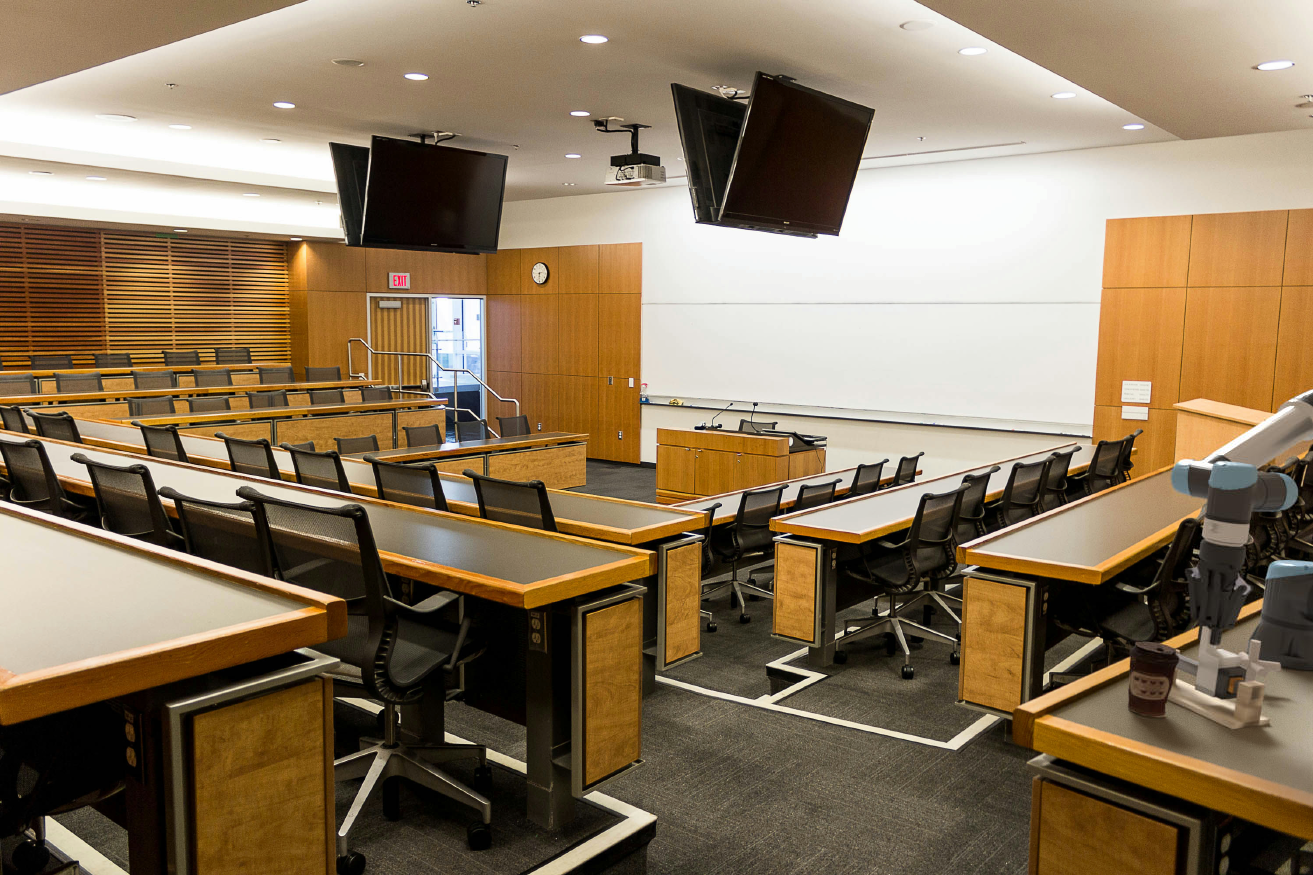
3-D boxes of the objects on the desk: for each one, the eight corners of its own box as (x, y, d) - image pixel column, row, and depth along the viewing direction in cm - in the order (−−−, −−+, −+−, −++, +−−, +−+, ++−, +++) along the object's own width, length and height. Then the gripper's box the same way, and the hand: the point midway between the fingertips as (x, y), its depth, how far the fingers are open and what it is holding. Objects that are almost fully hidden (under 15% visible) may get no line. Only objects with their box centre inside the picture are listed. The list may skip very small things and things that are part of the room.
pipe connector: (1286, 699, 188) (1293, 652, 187) (1232, 692, 190) (1239, 645, 189) (1264, 681, 198) (1271, 636, 197) (1213, 674, 200) (1220, 630, 199)
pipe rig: (1176, 683, 193) (1181, 646, 192) (1269, 723, 175) (1275, 683, 174) (1141, 687, 190) (1146, 649, 189) (1232, 728, 171) (1238, 687, 170)
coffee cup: (1171, 725, 171) (1180, 657, 169) (1121, 713, 175) (1130, 647, 173) (1171, 709, 179) (1180, 645, 177) (1123, 698, 183) (1132, 635, 181)
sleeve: (1216, 686, 183) (1222, 648, 182) (1235, 694, 179) (1241, 656, 178) (1194, 689, 181) (1200, 650, 180) (1213, 697, 177) (1219, 658, 176)
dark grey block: (1234, 693, 179) (1239, 666, 178) (1242, 697, 178) (1246, 669, 177) (1214, 696, 177) (1218, 668, 176) (1222, 699, 175) (1226, 671, 175)
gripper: (1179, 534, 183) (1163, 648, 186) (1241, 550, 171) (1223, 672, 174) (1206, 533, 186) (1190, 646, 189) (1269, 549, 174) (1251, 669, 177)
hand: (1206, 658), depth 182 cm, fingers closed
